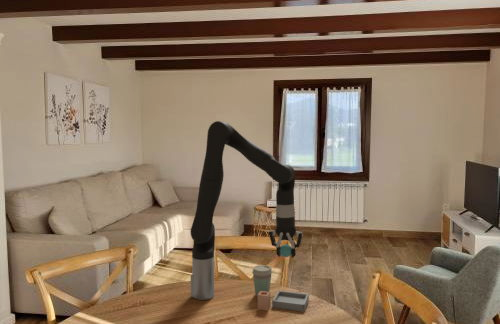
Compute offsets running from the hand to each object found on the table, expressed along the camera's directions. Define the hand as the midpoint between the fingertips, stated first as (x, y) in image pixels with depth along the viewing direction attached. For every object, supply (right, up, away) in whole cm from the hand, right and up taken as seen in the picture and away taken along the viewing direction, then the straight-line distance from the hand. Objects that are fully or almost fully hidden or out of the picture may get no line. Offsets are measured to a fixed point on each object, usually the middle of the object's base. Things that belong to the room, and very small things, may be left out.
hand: (286, 256), depth 163 cm
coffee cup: (-9, -20, +12) cm, 25 cm away
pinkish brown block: (-9, -20, -1) cm, 22 cm away
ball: (0, 0, 0) cm, 0 cm away
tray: (+2, -20, +3) cm, 20 cm away
